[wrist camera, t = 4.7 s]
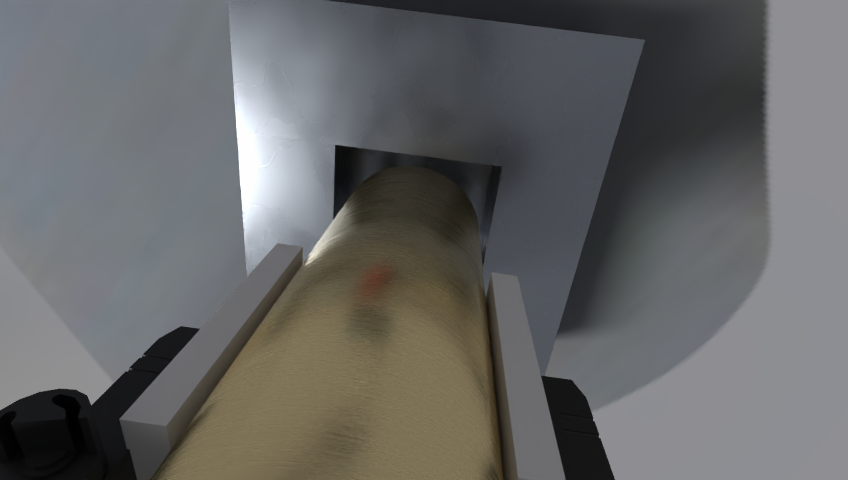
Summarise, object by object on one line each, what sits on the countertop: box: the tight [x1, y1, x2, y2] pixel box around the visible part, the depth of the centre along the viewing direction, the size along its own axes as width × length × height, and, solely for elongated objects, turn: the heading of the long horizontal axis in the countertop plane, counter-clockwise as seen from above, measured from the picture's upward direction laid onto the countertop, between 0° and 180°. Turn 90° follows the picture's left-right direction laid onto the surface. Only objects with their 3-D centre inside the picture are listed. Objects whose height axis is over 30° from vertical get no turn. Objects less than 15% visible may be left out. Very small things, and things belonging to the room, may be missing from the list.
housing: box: [228, 0, 645, 376], centre depth 20 cm, size 16×14×4 cm
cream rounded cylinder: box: [150, 166, 504, 480], centre depth 12 cm, size 6×6×13 cm
